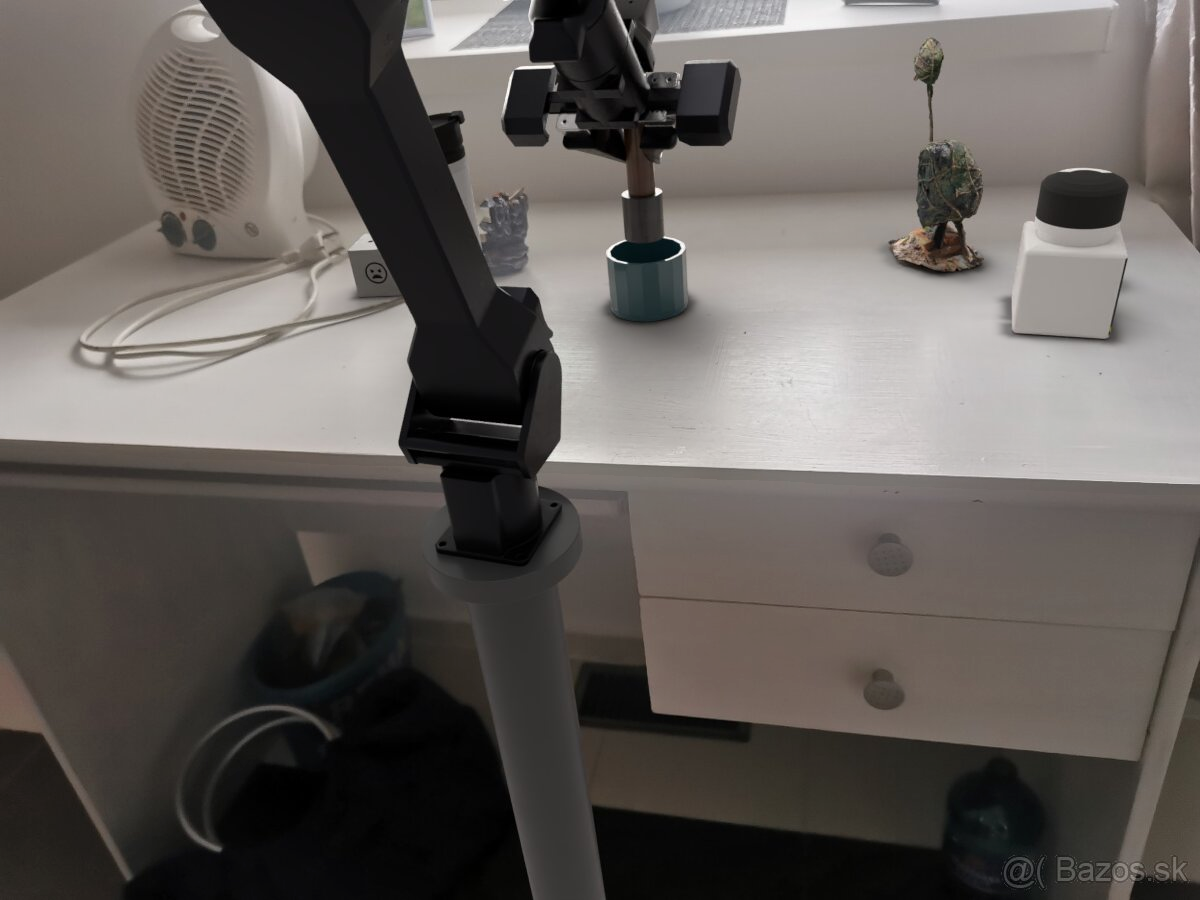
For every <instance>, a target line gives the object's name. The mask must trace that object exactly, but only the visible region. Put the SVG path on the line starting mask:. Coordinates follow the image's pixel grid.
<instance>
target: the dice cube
mask: <svg viewBox="0 0 1200 900" xmlns="http://www.w3.org/2000/svg"><path fill="white" fill-rule="evenodd" d="M347 255H348V259H349V263H350V267H351V271H352V274H353V279H354V283H355V287H356V290H357V295H358V297H359V298H367V297H369V298H373V297H398V296H399V297H400V296H402V295H401V294H400V292H399V290H398V288H397V286H396V284H395V282H394V280H393V278H392V276H391V274H390V272H389V270H388V268H387V266H386V265H385V263H384V261H383V259H382V257H381V255H380V253H379V251H378V249H377V247H376V245H375V243H374V241H373V239H372V238H371V236H370V234H369V233H364V234H362V235H361V237H359V238H358V239H357V240H356V242H354V243H353V244H352V246H350V248H348V250H347Z"/></svg>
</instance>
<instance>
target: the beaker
mask: <svg viewBox="0 0 1200 900" xmlns="http://www.w3.org/2000/svg"><path fill="white" fill-rule="evenodd" d="M605 257H606V267H607V268H606V269H607V279H608V290H609V300H610V309H611V312H612V313H613V315H615V317H618V318H619V319H623V320H626V321H631V322H638V323H639V322H640V323H641V322H643V323H645V322H646V323H647V322H656V321H657V322H658V321H663V320H667V319H670V318H673V317H675V316H678V315H680V314H681V313H683V312H685V310H686V308H687V307H688V304H689V302H688V300H689V289H688V264H687V263H688V262H687V248H686V244H685V243H684V242H683V241H681V240H679V239H677V238H673V237H668V236H664V237H663V238H662V239H660V240H658V241H655V242H651V243H631V242H628V241H627V240H626V239H624V240H620V241H618V242H616V243H614V244H612V245H610V246H609V248H607V250H606V251H605Z"/></svg>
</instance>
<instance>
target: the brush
mask: <svg viewBox="0 0 1200 900" xmlns="http://www.w3.org/2000/svg"><path fill="white" fill-rule="evenodd" d="M643 124H644V123H638V127H637V129H622V130H623V132H624V143H625V157H626V164H625V168H626V184H627V189H626V190H625V191H622V193H621V204H622V205H621V206H622V207H621V209H622V219H623V221H622V222H623V231H624V232H623V233H624V240H627V241H628V242H631V243H651V242H655V241H658V240H660V239H662V238H663V237H665V236H666V235H665V234H666V233H665V219H664V218H665V214H664V197H663V190H662V189H661V188H660V187H656V178H655V163H654V162H652V161H651V160H650V159H649V158H648V157H647V156H646V155H645V154H644V153H643V152H642V151H641V150H640V148H639V146H640V141H641V135H642V130H643Z"/></svg>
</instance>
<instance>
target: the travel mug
mask: <svg viewBox="0 0 1200 900" xmlns="http://www.w3.org/2000/svg"><path fill="white" fill-rule="evenodd" d="M428 117H429V119H430V122H431V124H432V127H433V129H434V132H435V134H436V137H437V139H438V141H439V144H440V146H441V149H442V151H443V154H444V156H445V159H446V161H447V164H448V166H449V169H450V171H451V174H452V176H453V179H454V181H455V184H456V186H457V189H458V191H459V194H460V196H461V199H462V201H463V204H464V206H465V209H466V211H467V214H468V216H469V219H470V221H471V224H472V226H473V229H474V231H475V234H476V236H477V239H478V241H479V244H480V246H481V249H482V250H483V245H482V240H481V235H480V229H479V223H478V217H477V216H478V215H477V210H476V205H475V198H474V192H473V187H472V180H471V175H470V174H471V173H470V169H469V164H468V163H467V160H468V156H467V153H466V149H465V146H464V144H463V143H464V137H463V133H462V129H461V125H462V124H464V123H465V122H466V118H465V114H464V111H463V110H462V109H461V110H453V111H451V112H440V113H434V114H430V115H429V114H428Z"/></svg>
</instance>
